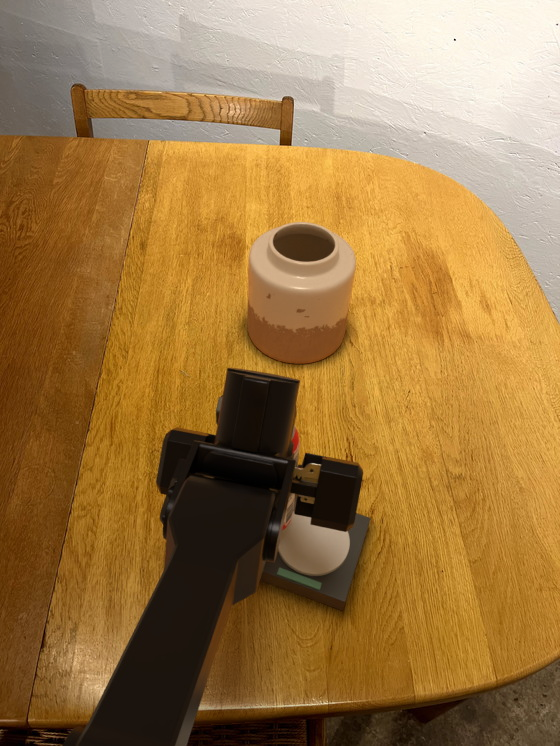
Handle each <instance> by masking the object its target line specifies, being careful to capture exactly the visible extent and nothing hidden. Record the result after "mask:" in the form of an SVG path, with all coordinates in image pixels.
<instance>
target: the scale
mask: <svg viewBox="0 0 560 746" xmlns="http://www.w3.org/2000/svg"><path fill="white" fill-rule="evenodd" d="M294 503H295V499H294ZM371 518H372V517H369V516H367V515H363V514H360V513H357V512H356V517H355V522H354V526H353V527H352V528H351V529H350V530H348V531H347V532H343V531H338V530H334V529H329V528H324V527H319V526H314V525H310V523H311V518H310V517H305V516H301V515H296V514H294V509H293V515H292V519H291V522H290V523H289V524H288V526H287V527H286V528H285V529H284V530H283V531H282V533H281V538H280V543H279V548H278V552H277V556H276V560H275V562H269V561H266V562H265V566H264V569H263V572H262V576H261V579H260V581H261V582H263V583H266V584H269V585H271V586H275V587H277V588H279V589H283V590H285V591H288V592H291V593H293V594H296V595H299V596H301V597H303V598H307V599H310V600H312V601H314V602H316V603H317V602H318V603H319V604H323V605H325V606H328V607H331V608H333V609H336V610H339V611H344V608H345V604H346V601H347V599H348V595H349V592H350V589H351V585H352V581H353V579H354V574H355V573H356V572H355V571H356V569H357V566H358V562H359V558H360V556H361V552H362V549H363V545H364V542H365V539H366V536H367V533H368V529H369V526H370V523H371Z"/></svg>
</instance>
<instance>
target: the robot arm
mask: <svg viewBox="0 0 560 746" xmlns="http://www.w3.org/2000/svg"><path fill="white" fill-rule="evenodd" d="M225 373H226V374H225V378H224V379H225V380H224V386H223V391H222V395H220V397H218V400H217V405H216V407H215V424H216V432H215V434H212V433H207V432H204V431H198V430H194V429H189V428H184V427H178V426H177V427H174V428H171V430H169V431H168V432H166V433H165V435H164V437H163V440H162V444H161V450H160V457H159V463H158V468H157V474H156V480H155V483H156V487H157V490H158V491H159V493H160V495H163V496H164V495H165V497H164V500H163V503H162V505H161V509H160V511H159V512H160V513H159V521H160V522H161V525H162V539H164V540H165V554H164V567H163V571H162V573H161V575H160V577H159V580H158V581H157V583H156V585H155V587H154V589H153V591H152V593H151V595H150V598H149V599H148V601H147V603H146V606H145V607H144V609H143V612H142V614H141V615H140V618H139V620H138V622H137V623H136V626H135V628H134V630H133V632H132V633H131V635H130V637H129V640H128V642H127V644H126V646H125V647H124V650H123V652H122V654H121V656H120V658H119V660H118V662H117V664H116V666H115V668H114V670H113V672H112V674H111V676H110V678H109V680H108V682H107V684H106V686H105V688H104V690H103V692H102V694H101V696H100V699H99V700H98V702H97V704H96V706H95V708H94V710H93V712H92V715H91V716H90V719H89V721H88V723H86V726H81V725H75V727H74V728H72V729H71V730H70V732H69V733H68V735H67V736H66V738H65V740H64V742H63V743H62V745H61V746H188V743H189V739H190V735H191V733H192V730H193V727H194V724H195V721H196V718H197V714H198V711H199V708H200V704H201V702H202V699H203V696H204V692H205V690H206V687H207V683H208V680H209V677H210V674H211V671H212V668H213V665H214V662H215V659H216V656H217V653H218V650H219V646H220V644H221V640H222V637H223V634H224V631H225V628H226V625H227V621H228V619H229V616H230V614H231V611H232V608H233V606H235V605H236V604H238V603H240V602H242V601H244V600H245V599H247V598H249V597H250V596H252V595H254V594H255V593H256V592H257V590H258V588H259V585H260V581H261V580H260V579H261V576H262V572H263V569H264V566H265V562H266V561H269V562H275V560H276V556H277V552H278V548H279V543H280V538H281V533H282V529H283V524H284V519H285V514H286V510H287V505H288V500H289V495H290V493H293V494H295V503H294V514H296V515H301V516H305V517H310V518H311V523H310V525H314V526H319V527H324V528H329V529H334V530H338V531H343V532H347V531H348V530H350V529H351V528H352V527H353V526H354V522H355V517H356V513H357V511H358V506H359V501H360V494H361V490H362V484H363V478H364V469H363V468H362V465H360V463H359V462H357V461H351V460H346V459H342V458H337V457H332V456H325V455H320V454H315V453H309V452H305V453H304V456H303V458H302V463H301V464H298V467H295V463H296V460H293V459H294V454H295V453H293V448H294V443H293V442H292V441H291V439H292V434H293V429H294V424H295V425H296V419H297V414H298V411H297V410H298V409H297V401H298V395H299V390H300V384H301V380H300V379H297V378H294V377H289V376H284V375H280V374H275V373H269V372H262V371H257V370H252V369H245V368H237V367H226V372H225ZM295 477H296V479H293V478H295Z"/></svg>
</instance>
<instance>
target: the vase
mask: <svg viewBox="0 0 560 746" xmlns="http://www.w3.org/2000/svg"><path fill="white" fill-rule="evenodd" d="M247 263H248V264H247V319H246V320H247V322H246V323H247V332H248V336H249V338H250V340H251V342H252V343H253V345H254V347H256V349H258V350H259V351H260V352H262V353H263V354H264V355H266V356H267V357H269V358H271V359H274V360H276V361H279V362H283V363H288V364H296V365H297V364H298V365H299V364H300V365H301V364H310V363H311V364H312V363H315V362H318V361H322V360H324V359H326V358H329V357H330V356H332V355H333V354H334V353H335V352H336V351H337V350H338V349H339V347H340V346H341V345H342V343H343V341H344V339H345V334H346V331H347V330H346V329H347V323H348V318H349V317H348V316H349V311H350V305H351V299H352V293H353V288H354V282H355V276H356V275H355V274H356V270H357V258H356V254H355V251H354V249H353V248H352V246H351V245H350V244H349V243H348V242H347V240H345V239H344V238H343V237H342V236H340V235H339V234H337V233H335V232H334V231H331V230H330V229H328V228H327V227H325V226H323V225H320V224H318V223H314V222H309V221H308V222H307V221H295V222H289V223H285V224H283V225H280V226H277V227H274V228H272V229H271V228H270V230H267V231H265V232H264V233H262V234H261V235H259V236H258V237H257V238H256V239H255V241H254V242H253V243H252V244H251V246H250V249H249V252H248V262H247Z"/></svg>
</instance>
